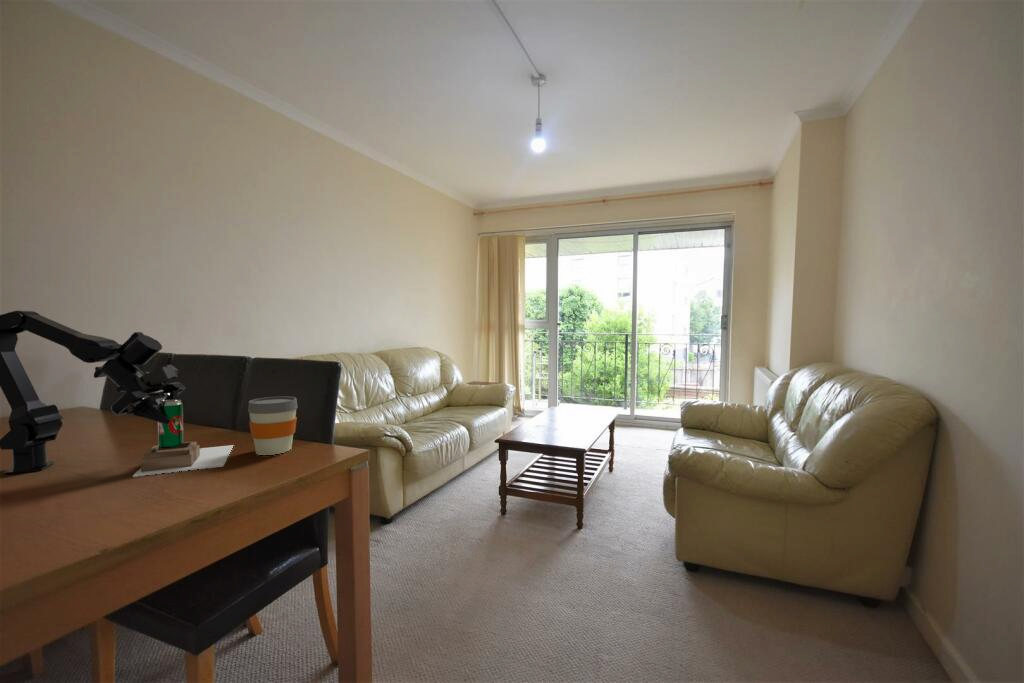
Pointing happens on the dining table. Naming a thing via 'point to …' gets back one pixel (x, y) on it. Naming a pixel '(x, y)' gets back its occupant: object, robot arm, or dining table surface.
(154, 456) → the socket block
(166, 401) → the soda can
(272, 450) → the reusable coffee cup
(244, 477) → the dining table surface
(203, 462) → the white flat sheet
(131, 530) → the dining table surface
